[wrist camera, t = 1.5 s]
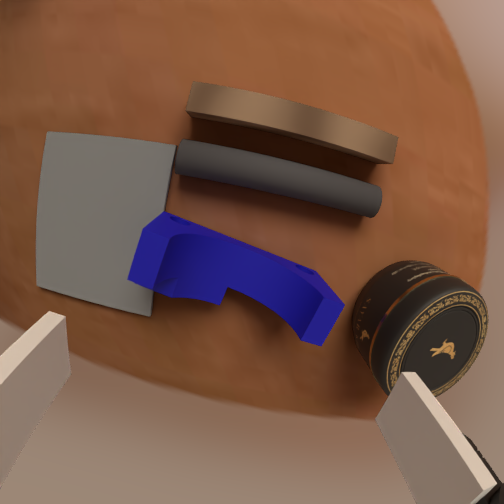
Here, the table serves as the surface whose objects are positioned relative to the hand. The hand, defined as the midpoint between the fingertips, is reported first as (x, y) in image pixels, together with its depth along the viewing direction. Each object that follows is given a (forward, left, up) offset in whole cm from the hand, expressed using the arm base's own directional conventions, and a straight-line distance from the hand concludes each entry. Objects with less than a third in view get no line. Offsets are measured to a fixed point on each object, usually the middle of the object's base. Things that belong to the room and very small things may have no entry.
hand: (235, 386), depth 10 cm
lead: (+2, +8, -13) cm, 15 cm away
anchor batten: (+2, +11, -13) cm, 17 cm away
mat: (-11, +2, -13) cm, 17 cm away
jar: (+15, -1, -13) cm, 20 cm away
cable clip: (0, 0, -13) cm, 13 cm away
